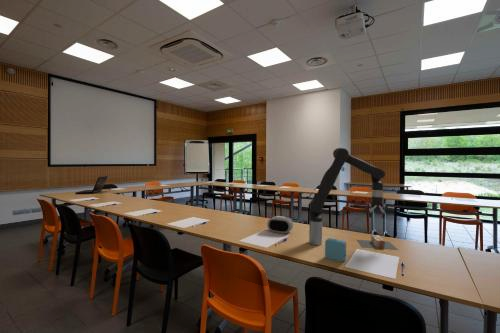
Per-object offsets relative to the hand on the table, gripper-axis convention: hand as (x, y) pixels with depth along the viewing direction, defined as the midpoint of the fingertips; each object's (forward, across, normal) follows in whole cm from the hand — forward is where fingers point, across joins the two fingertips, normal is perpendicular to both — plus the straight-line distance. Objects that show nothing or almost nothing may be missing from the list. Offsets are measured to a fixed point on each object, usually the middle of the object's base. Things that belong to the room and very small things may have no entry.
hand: (376, 217), depth 183 cm
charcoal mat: (+20, 0, -1) cm, 21 cm away
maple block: (+17, +1, +7) cm, 19 cm away
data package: (+21, -34, -34) cm, 52 cm away
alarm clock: (+21, -72, +18) cm, 77 cm away
